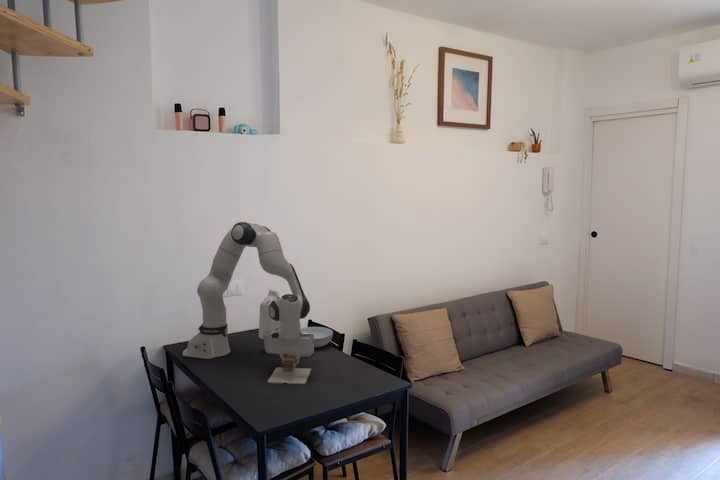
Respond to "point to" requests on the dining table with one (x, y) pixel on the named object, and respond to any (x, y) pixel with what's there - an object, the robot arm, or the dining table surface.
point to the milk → (267, 314)
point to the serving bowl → (319, 335)
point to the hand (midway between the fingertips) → (290, 363)
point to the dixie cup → (266, 338)
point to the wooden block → (289, 363)
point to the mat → (290, 376)
